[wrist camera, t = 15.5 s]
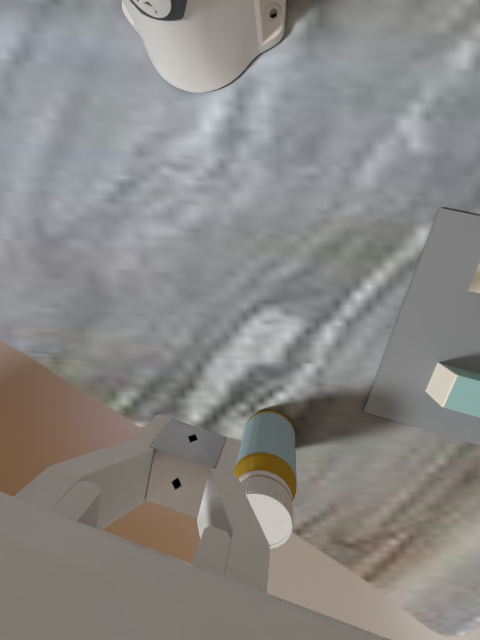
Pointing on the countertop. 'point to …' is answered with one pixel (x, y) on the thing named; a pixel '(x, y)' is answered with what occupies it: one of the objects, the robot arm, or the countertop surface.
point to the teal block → (455, 389)
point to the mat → (434, 331)
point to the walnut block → (475, 282)
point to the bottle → (269, 472)
